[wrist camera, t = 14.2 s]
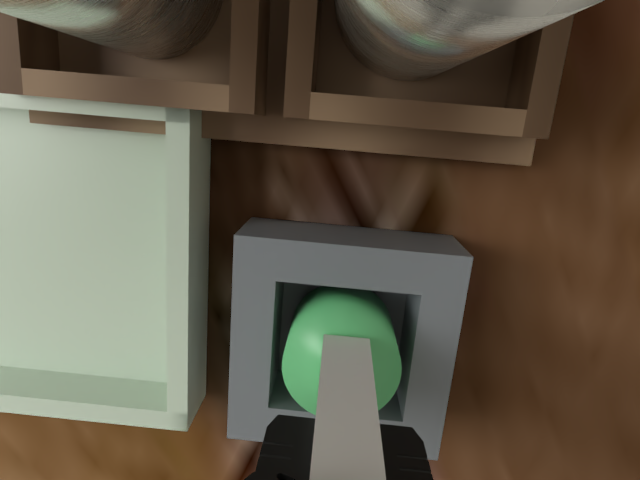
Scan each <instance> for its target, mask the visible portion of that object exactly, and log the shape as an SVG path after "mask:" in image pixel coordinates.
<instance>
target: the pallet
mask: <svg viewBox="0 0 640 480" xmlns="http://www.w3.org/2000/svg"><path fill="white" fill-rule="evenodd" d="M573 19H574V14H573V15H570V16H568V17H566V18H564V19H561V20H559V21H557V22H555V23H552V24H550V25H548V26H546V27H543V28H541V29H539V30H537V31H534V32H532V33H530V34H528V35H525V36H523V37H521V38H519V39H516V40H514V41H512V42H510V43H507V44H505V45H503V46H501V47H498V48H496V49H494V50H492V51H489V52H487V53H485V54H483V55H480V56H478V57H476V58H474V59H471V60H469V61H467V62H465V63H462V64H460V65H458V66H456V67H453V68H451V69H449V70H447V71H444V72H442V73H440V74H438V75H435V76H433V77H430V78H426V79H422V80H416V81H400V80H393V79H389V78H386V77H383V76H381V75H378V74H376V73H374V72H373V71H371V70H369V69H368V68H367V67H365V66H364V65H363V64H362V63H360V62H359V61H358V59H357V58H356V57H355V56H354V55H353V54H352V52H351V51H350V50H349V48H348V47H347V45H346V43H345V41H344V40H343V37H342V35H341V32H340V30H339V26H338V23H337V19H336V11H335V0H223V3H222V7H221V10H220V13H219V16H218V18H217V20H216V22H215V24H214V26H213V27H212V29H211V31H210V32H209V33H208V35H207V36H206V37H205V38H204V39H203V40H202V41H201V42H200V43H199V44H198V45H197V46H195V47H194V48H192V49H191V50H189V51H188V52H186V53H184V54H181V55H179V56H176V57H173V58H168V59H145V58H140V57H137V56H134V55H131V54H127V53H124V52H121V51H118V50H115V49H112V48H109V47H106V46H103V45H100V44H97V43H94V42H91V41H87V40H84V39H81V38H78V37H75V36H72V35H69V34H66V33H63V32H60V31H57V30H54V29H51V28H47V27H44V26H41V25H38V24H35V23H32V22H29V21H26V20H23V19H20V18H17V17H14V16H11V15H7V14H4V13H1V12H0V93H5V94H16V95H28V96H40V97H52V98H64V99H75V100H87V101H99V102H111V103H123V104H135V105H146V106H158V107H170V108H182V109H193V110H202V137H201V138H210V139H222V140H233V141H245V142H256V143H268V144H280V145H291V146H303V147H314V148H326V149H337V150H349V151H361V152H372V153H384V154H395V155H407V156H419V157H430V158H442V159H453V160H465V161H477V162H488V163H500V164H511V165H523V166H531V163H532V158H533V153H534V148H535V143H536V138H537V139H549V135H550V130H551V126H552V121H553V116H554V111H555V106H556V101H557V96H558V92H559V87H560V82H561V77H562V72H563V67H564V63H565V58H566V53H567V48H568V43H569V38H570V33H571V29H572V24H573ZM29 119H30V123H36V124H48V125H59V126H71V127H82V128H94V129H106V130H117V131H129V132H140V133H152V134H164V135H166V121H156V120H144V119H132V118H120V117H109V116H97V115H85V114H74V113H62V112H50V111H39V110H29Z"/></svg>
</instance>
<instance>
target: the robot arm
mask: <svg viewBox="0 0 640 480" xmlns="http://www.w3.org/2000/svg"><path fill="white" fill-rule="evenodd" d="M244 480H433V478H432V474H431V470H430V466H429V462H428V460H427V454H426V449H425V445H424V442H423V440H422V439H421V438H420V436H419V435H418V434H417V433H416V431H415V430H414V429H413V428H412V427H406V426H397V425H387V424H380V423H379V414H378V406H377V397H376V389H375V380H374V371H373V363H372V354H371V346H370V339H368V338H358V337H348V336H337V335H327V334H324V336H323V347H322V357H321V367H320V377H319V387H318V397H317V407H316V418H307V417H298V416H288V415H277V416H276V417H275V418H274V419H273V420H272V422H271V423H270V424H269V425H268V426H267V428H266V432H265V436H264V440H263V444H262V448H261V452H260V457H259V460H258V464H257V467H256V471H255V472H253V473H252V474H251V475H249V476H248V477H247V478H246V479H244Z"/></svg>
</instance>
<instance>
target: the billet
mask: <svg viewBox="0 0 640 480" xmlns="http://www.w3.org/2000/svg"><path fill="white" fill-rule="evenodd" d="M222 3H223V0H0V12H1V13H4V14H7V15H11V16H14V17H17V18H20V19H23V20H26V21H29V22H32V23H35V24H38V25H41V26H44V27H47V28H51V29H54V30H57V31H60V32H63V33H66V34H69V35H72V36H75V37H78V38H81V39H84V40H87V41H91V42H94V43H97V44H100V45H103V46H106V47H109V48H112V49H115V50H118V51H121V52H124V53H127V54H131V55H134V56H137V57H140V58H145V59H168V58H173V57H176V56H179V55H181V54H184V53H186V52H188V51H189V50H191V49H192V48H194V47H195V46H197V45H198V44H199V43H200V42H201V41H202V40H203V39H204V38H205V37H206V36H207V35H208V33H209V32H210V31H211V29H212V27H213V26H214V24H215V22H216V20H217V18H218V16H219V13H220V10H221V7H222Z"/></svg>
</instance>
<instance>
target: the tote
mask: <svg viewBox="0 0 640 480" xmlns="http://www.w3.org/2000/svg"><path fill="white" fill-rule="evenodd" d="M29 110H39V111H50V112H62V113H74V114H85V115H97V116H109V117H120V118H132V119H144V120H156V121H166V135H164V134H152V133H140V132H129V131H117V130H106V129H94V128H82V127H71V126H59V125H48V124H36V123H30V119H29ZM201 137H202V110H193V109H182V108H170V107H158V106H146V105H135V104H123V103H111V102H99V101H87V100H75V99H64V98H52V97H40V96H28V95H16V94H5V93H0V412H6V413H16V414H25V415H35V416H44V417H54V418H63V419H73V420H82V421H92V422H101V423H111V424H120V425H130V426H139V427H149V428H158V429H168V430H177V431H188V429H189V427H190V425H191V423H192V421H193V419H194V417H195V415H196V413H197V411H198V409H199V407H200V405H201V403H202V401H203V400H204V398H205V396H206V368H207V317H208V266H209V215H210V164H211V139H210V138H201Z"/></svg>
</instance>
